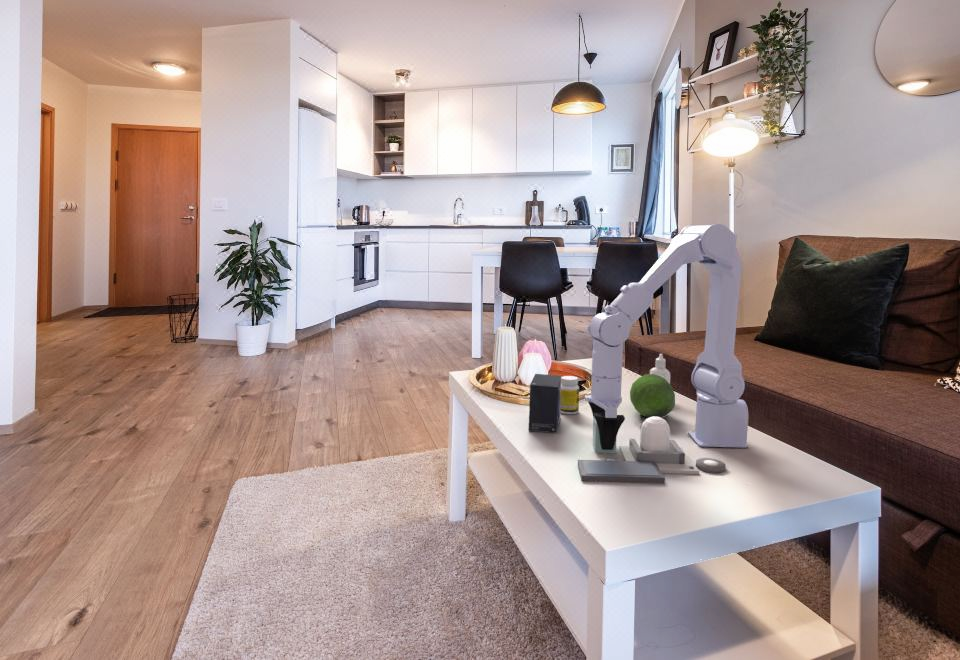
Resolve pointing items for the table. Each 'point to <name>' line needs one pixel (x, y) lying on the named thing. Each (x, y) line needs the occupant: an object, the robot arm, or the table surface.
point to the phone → (620, 471)
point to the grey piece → (661, 458)
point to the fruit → (652, 396)
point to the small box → (545, 403)
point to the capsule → (655, 435)
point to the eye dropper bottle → (661, 368)
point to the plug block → (597, 440)
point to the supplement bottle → (569, 395)
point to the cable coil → (710, 465)
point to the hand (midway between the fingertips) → (604, 442)
